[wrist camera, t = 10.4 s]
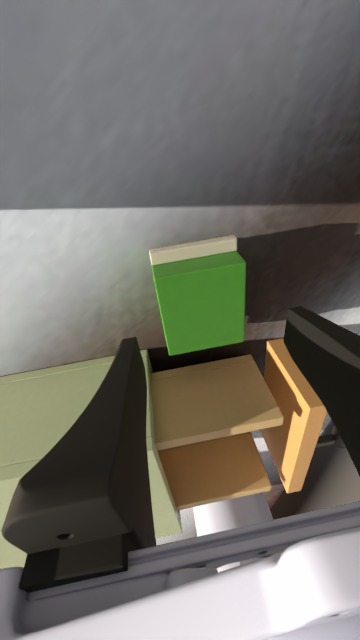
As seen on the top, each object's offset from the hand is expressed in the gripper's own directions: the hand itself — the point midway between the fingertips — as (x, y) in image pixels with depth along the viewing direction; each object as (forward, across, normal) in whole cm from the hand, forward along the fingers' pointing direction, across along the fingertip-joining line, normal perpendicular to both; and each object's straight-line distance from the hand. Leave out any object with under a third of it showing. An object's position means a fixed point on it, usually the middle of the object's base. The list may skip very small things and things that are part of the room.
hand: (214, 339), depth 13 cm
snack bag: (+6, 0, 0) cm, 6 cm away
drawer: (+5, -2, +11) cm, 12 cm away
